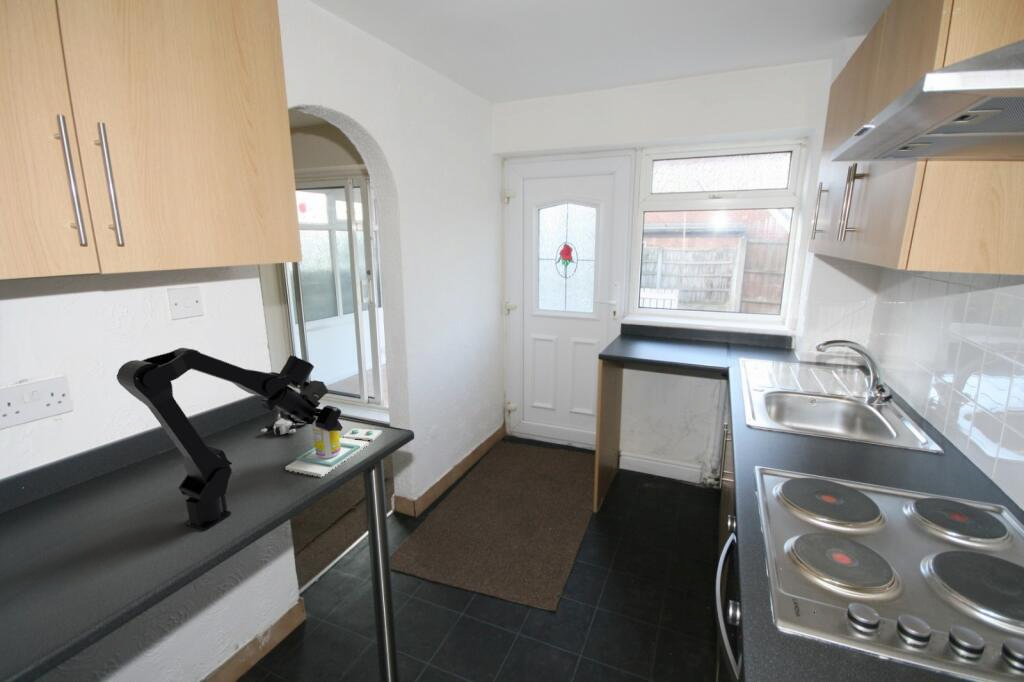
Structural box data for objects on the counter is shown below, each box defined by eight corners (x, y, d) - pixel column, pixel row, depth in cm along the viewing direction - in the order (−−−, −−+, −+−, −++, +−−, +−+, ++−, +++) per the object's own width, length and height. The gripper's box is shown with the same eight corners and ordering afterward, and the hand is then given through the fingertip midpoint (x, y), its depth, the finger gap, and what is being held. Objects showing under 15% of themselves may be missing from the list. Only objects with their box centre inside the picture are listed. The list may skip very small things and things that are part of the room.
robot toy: (296, 440, 147) (319, 418, 161) (294, 427, 145) (317, 406, 160) (259, 439, 148) (286, 418, 162) (257, 426, 147) (283, 406, 161)
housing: (321, 477, 122) (320, 471, 122) (285, 470, 126) (284, 464, 126) (368, 444, 140) (368, 439, 140) (336, 439, 144) (335, 434, 144)
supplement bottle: (341, 447, 137) (336, 405, 134) (340, 457, 131) (336, 413, 128) (317, 450, 135) (311, 408, 132) (315, 461, 129) (309, 417, 126)
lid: (372, 440, 143) (372, 436, 143) (343, 438, 145) (342, 434, 145) (381, 432, 149) (381, 428, 148) (353, 430, 151) (352, 426, 151)
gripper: (331, 379, 120) (367, 405, 132) (284, 370, 128) (321, 396, 140) (309, 418, 115) (348, 442, 127) (261, 406, 123) (302, 430, 135)
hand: (329, 426), depth 132 cm, fingers open, 9 cm apart
